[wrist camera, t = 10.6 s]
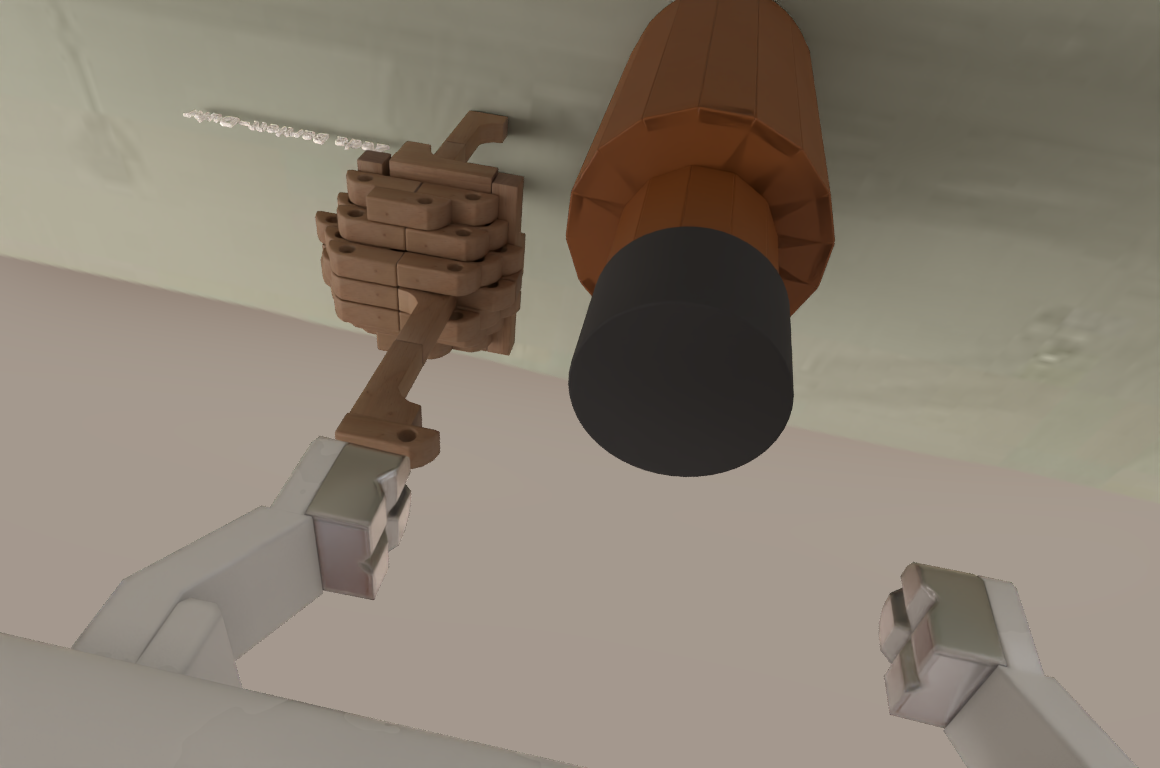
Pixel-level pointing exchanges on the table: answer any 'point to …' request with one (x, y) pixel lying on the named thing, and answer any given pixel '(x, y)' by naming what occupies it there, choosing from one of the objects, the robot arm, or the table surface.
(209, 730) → the robot arm
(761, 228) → the bottle
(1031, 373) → the table surface
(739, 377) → the bung
